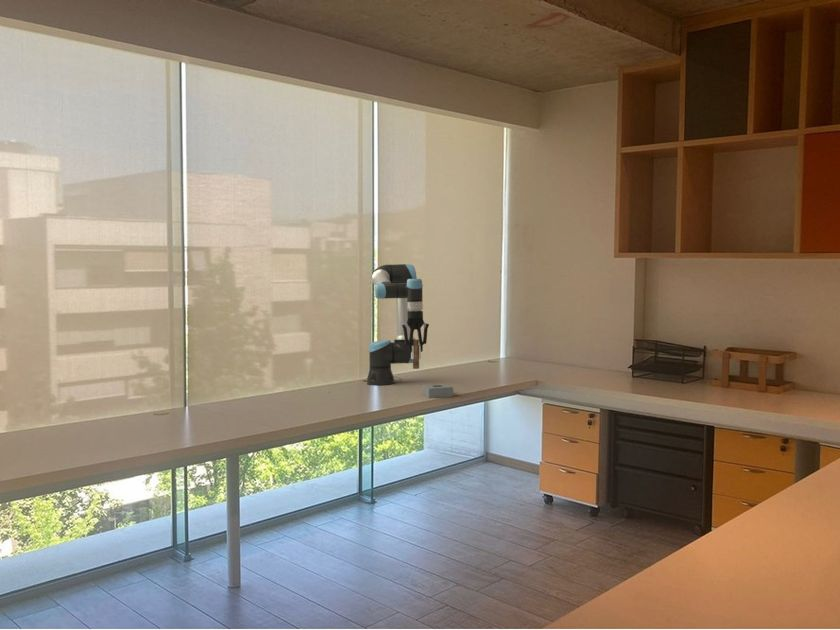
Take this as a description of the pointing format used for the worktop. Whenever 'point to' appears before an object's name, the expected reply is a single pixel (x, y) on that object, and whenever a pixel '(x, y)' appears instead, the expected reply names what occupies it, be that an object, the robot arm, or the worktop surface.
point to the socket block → (437, 390)
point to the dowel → (416, 354)
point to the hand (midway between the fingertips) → (416, 358)
